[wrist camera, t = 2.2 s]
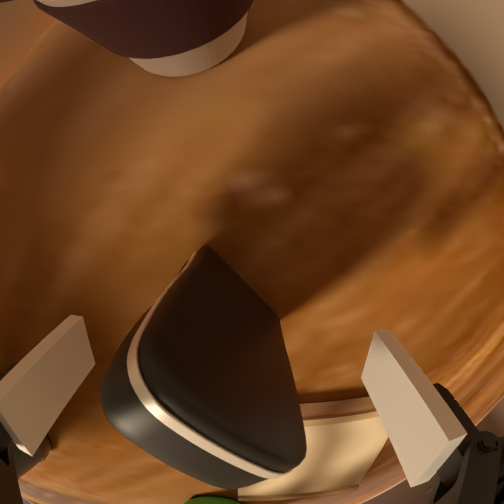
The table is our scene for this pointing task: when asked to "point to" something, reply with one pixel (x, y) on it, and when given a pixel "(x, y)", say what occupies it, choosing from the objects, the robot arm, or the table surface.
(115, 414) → the battery charger
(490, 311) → the table surface
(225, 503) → the bottle
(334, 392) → the table surface
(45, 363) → the robot arm
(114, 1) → the coffee cup
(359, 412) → the board
